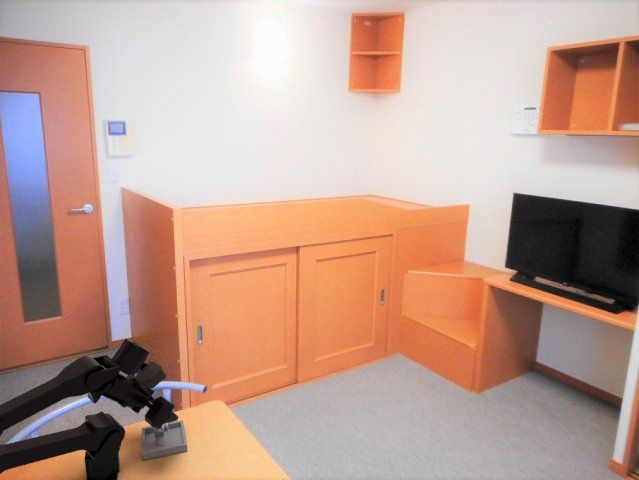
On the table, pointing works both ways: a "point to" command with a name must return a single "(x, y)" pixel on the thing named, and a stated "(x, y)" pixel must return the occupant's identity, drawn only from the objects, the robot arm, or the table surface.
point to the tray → (172, 447)
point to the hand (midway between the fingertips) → (167, 411)
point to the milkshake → (161, 434)
